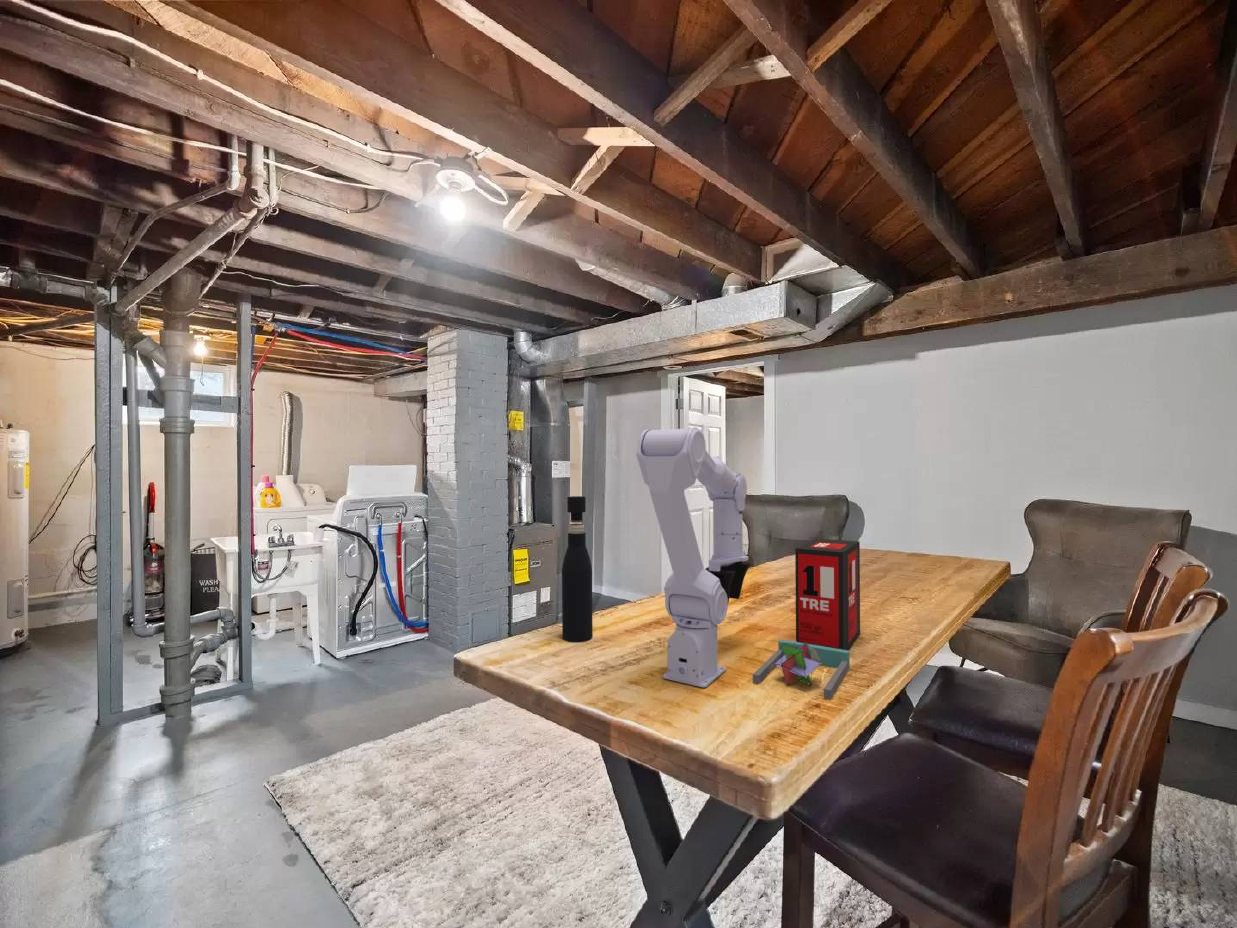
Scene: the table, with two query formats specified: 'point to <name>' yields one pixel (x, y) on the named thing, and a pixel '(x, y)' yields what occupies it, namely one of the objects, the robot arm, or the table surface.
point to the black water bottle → (576, 579)
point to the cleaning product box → (828, 593)
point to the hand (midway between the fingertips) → (728, 601)
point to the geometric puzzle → (798, 663)
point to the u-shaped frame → (826, 656)
